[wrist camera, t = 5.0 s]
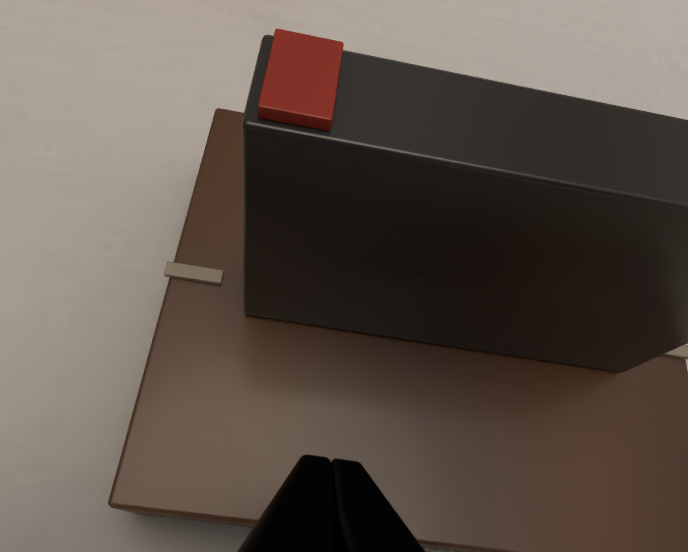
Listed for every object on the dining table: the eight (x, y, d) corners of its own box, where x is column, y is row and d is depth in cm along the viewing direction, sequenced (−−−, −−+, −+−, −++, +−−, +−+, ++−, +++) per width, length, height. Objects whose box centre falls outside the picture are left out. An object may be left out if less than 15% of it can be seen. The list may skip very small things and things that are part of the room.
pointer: (614, 311, 15) (880, 144, 9) (622, 373, 15) (922, 240, 8) (256, 252, 14) (263, 17, 8) (243, 315, 14) (240, 111, 7)
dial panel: (600, 200, 21) (654, 147, 18) (655, 641, 15) (752, 665, 12) (226, 130, 20) (222, 62, 17) (110, 584, 13) (73, 596, 11)
